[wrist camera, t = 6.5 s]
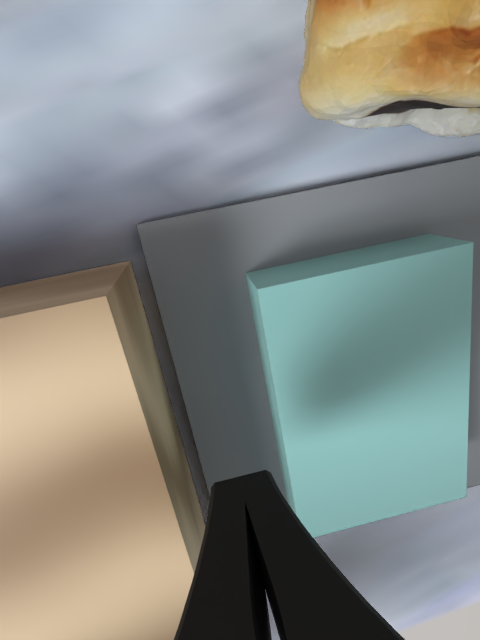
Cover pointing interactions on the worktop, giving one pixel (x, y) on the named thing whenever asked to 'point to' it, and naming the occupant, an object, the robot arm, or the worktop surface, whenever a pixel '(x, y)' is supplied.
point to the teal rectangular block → (368, 378)
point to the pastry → (394, 64)
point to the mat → (275, 250)
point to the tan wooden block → (90, 466)
